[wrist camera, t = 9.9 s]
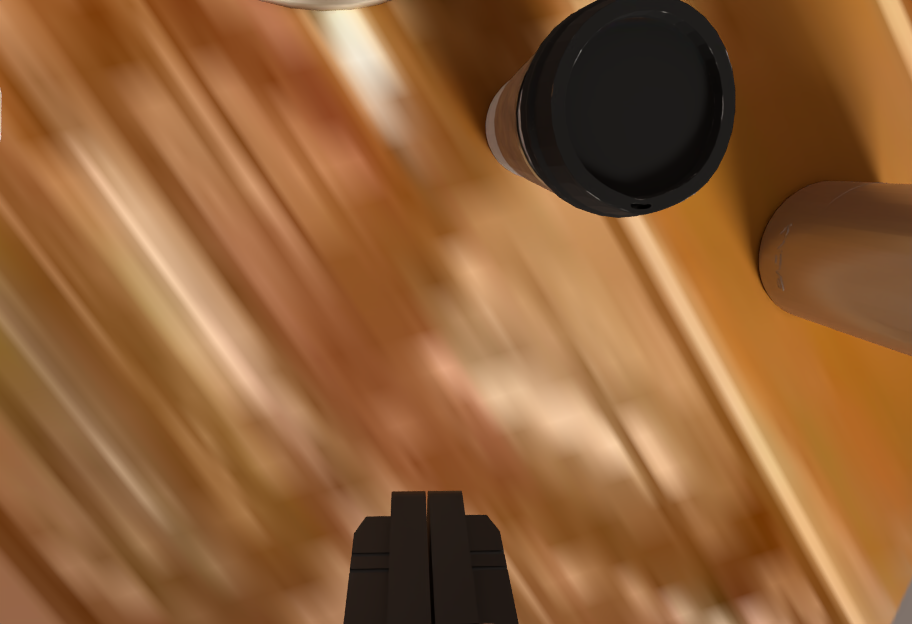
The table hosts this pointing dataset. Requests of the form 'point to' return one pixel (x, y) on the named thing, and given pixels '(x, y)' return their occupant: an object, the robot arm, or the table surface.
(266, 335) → the table surface
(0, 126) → the grey piece
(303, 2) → the serving board
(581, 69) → the coffee cup
